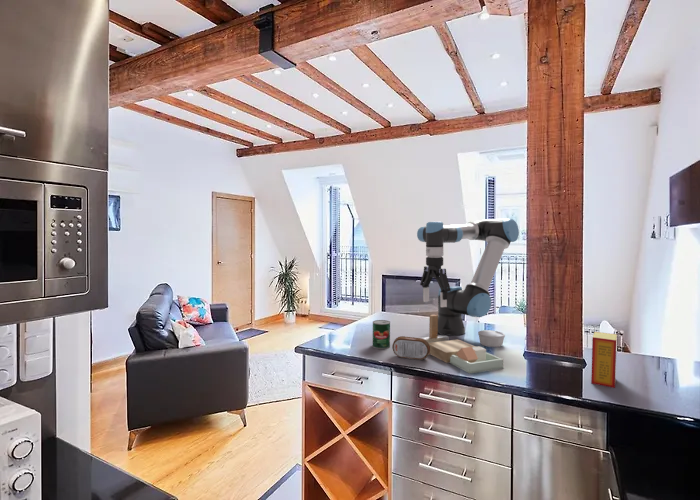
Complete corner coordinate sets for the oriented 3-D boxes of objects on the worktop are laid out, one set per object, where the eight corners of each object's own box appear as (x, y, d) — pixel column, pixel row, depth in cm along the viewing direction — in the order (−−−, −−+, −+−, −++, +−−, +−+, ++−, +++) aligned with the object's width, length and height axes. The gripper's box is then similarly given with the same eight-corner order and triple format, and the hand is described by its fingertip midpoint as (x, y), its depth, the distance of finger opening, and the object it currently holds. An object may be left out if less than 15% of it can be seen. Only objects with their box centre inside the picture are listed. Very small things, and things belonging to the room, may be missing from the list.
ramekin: (509, 347, 172) (510, 335, 172) (488, 349, 169) (489, 337, 169) (493, 340, 183) (493, 329, 183) (473, 342, 180) (473, 331, 179)
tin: (430, 359, 155) (430, 338, 155) (429, 361, 152) (429, 340, 152) (393, 355, 160) (393, 335, 160) (391, 357, 157) (391, 336, 157)
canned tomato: (377, 349, 168) (377, 324, 167) (369, 344, 175) (369, 320, 174) (393, 347, 170) (393, 323, 170) (385, 343, 178) (385, 319, 177)
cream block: (479, 346, 153) (486, 349, 149) (478, 358, 153) (485, 361, 149) (468, 347, 151) (475, 350, 147) (468, 360, 151) (475, 363, 148)
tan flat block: (458, 348, 169) (458, 339, 169) (479, 358, 156) (479, 348, 156) (426, 352, 164) (426, 343, 164) (446, 362, 151) (446, 352, 150)
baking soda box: (593, 375, 138) (594, 330, 137) (615, 379, 134) (616, 333, 133) (591, 383, 130) (592, 336, 129) (614, 388, 126) (616, 339, 126)
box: (481, 358, 155) (481, 350, 155) (503, 368, 144) (503, 359, 144) (450, 363, 150) (450, 354, 150) (470, 373, 139) (470, 364, 139)
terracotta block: (466, 351, 150) (471, 346, 148) (472, 363, 147) (478, 358, 145) (456, 353, 148) (461, 347, 145) (462, 365, 145) (468, 360, 142)
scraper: (444, 343, 177) (445, 313, 176) (448, 345, 174) (448, 314, 174) (417, 347, 172) (418, 315, 171) (421, 348, 169) (421, 317, 169)
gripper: (412, 255, 182) (412, 300, 183) (443, 258, 158) (443, 310, 160) (426, 254, 184) (426, 299, 186) (459, 258, 161) (459, 308, 162)
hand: (434, 304), depth 173 cm, fingers open, 13 cm apart
